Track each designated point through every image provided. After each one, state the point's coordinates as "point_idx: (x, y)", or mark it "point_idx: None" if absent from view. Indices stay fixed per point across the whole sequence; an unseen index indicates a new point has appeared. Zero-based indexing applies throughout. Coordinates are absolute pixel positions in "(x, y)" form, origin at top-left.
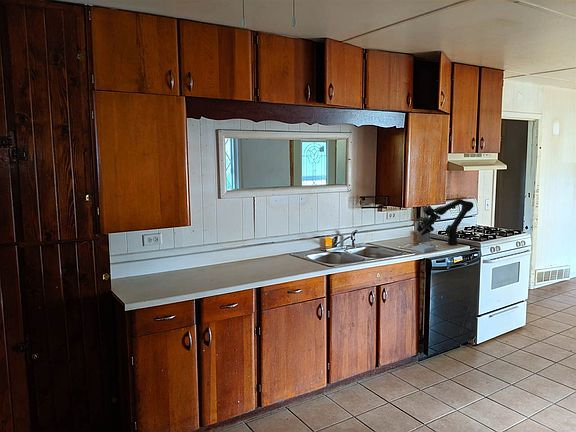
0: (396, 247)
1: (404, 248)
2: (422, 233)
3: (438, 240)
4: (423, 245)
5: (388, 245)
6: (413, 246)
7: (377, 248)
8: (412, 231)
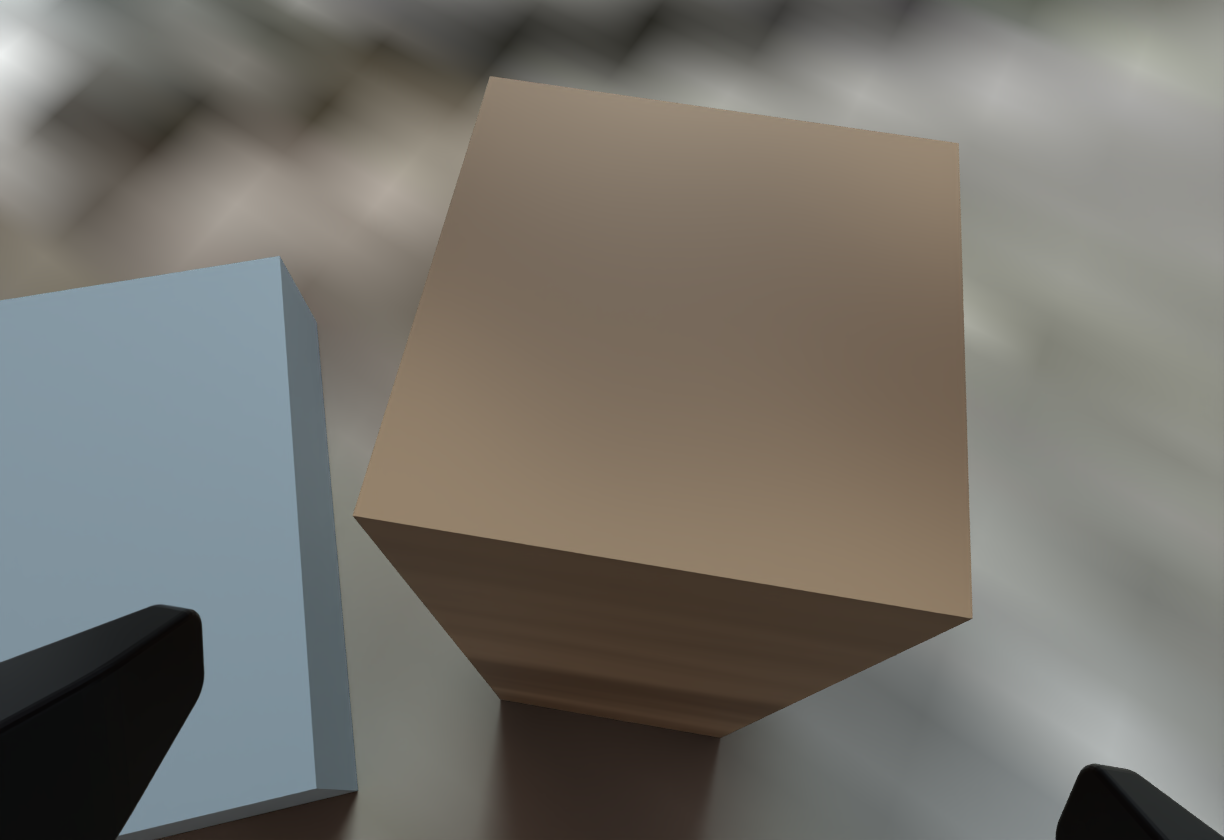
0: None
1: None
2: (20, 684)
3: None
4: None
5: (1102, 147)
6: (246, 268)
7: None
8: (736, 160)
